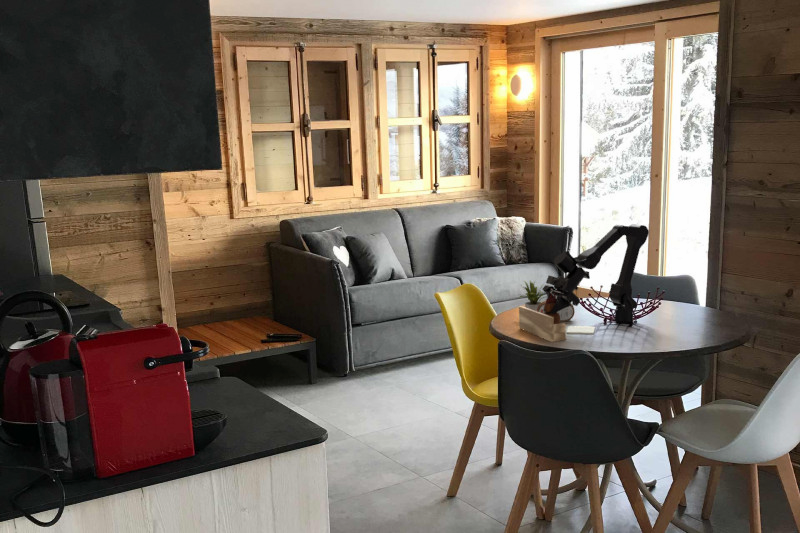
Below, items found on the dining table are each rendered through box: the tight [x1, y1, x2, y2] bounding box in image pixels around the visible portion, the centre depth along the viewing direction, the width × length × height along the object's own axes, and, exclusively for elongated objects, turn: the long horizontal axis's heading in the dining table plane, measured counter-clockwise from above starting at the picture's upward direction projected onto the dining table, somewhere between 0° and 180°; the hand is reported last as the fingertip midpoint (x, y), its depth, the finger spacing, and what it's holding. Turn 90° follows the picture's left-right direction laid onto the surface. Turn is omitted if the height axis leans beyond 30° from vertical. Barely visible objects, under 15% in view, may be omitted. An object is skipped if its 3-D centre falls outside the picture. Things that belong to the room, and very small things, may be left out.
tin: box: [537, 300, 575, 323], centre depth 320 cm, size 15×3×8 cm, turn 84°
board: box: [566, 325, 596, 335], centre depth 302 cm, size 10×10×1 cm
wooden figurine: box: [543, 293, 561, 324], centre depth 300 cm, size 7×6×15 cm
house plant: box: [518, 279, 545, 311], centre depth 328 cm, size 14×14×16 cm
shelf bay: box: [518, 305, 567, 342], centre depth 299 cm, size 6×24×9 cm, turn 20°
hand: (547, 312), depth 300 cm, fingers closed on wooden figurine, 5 cm apart
